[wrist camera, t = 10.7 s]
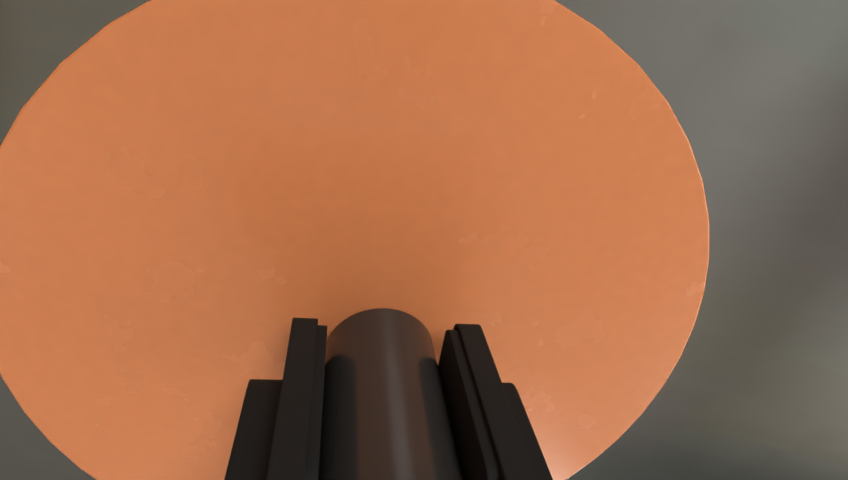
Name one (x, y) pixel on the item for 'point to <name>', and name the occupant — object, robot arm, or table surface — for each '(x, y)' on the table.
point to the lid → (343, 230)
